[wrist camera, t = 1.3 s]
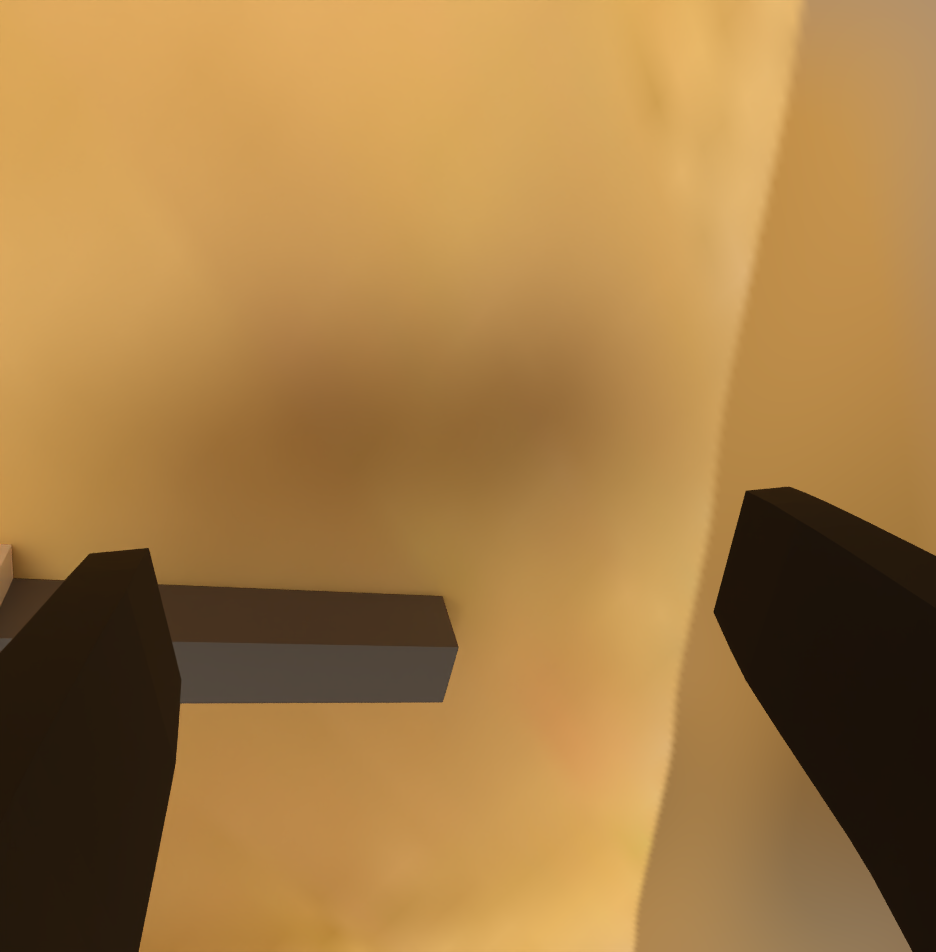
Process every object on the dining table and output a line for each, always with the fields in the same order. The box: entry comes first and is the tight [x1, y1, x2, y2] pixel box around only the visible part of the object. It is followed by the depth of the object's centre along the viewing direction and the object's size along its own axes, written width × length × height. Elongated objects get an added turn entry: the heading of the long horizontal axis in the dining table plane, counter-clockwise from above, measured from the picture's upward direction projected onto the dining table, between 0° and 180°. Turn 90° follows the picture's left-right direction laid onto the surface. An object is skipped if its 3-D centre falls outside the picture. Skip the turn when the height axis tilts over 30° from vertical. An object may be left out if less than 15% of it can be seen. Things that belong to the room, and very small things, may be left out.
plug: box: [0, 544, 459, 703], centre depth 19 cm, size 4×15×3 cm, turn 76°
